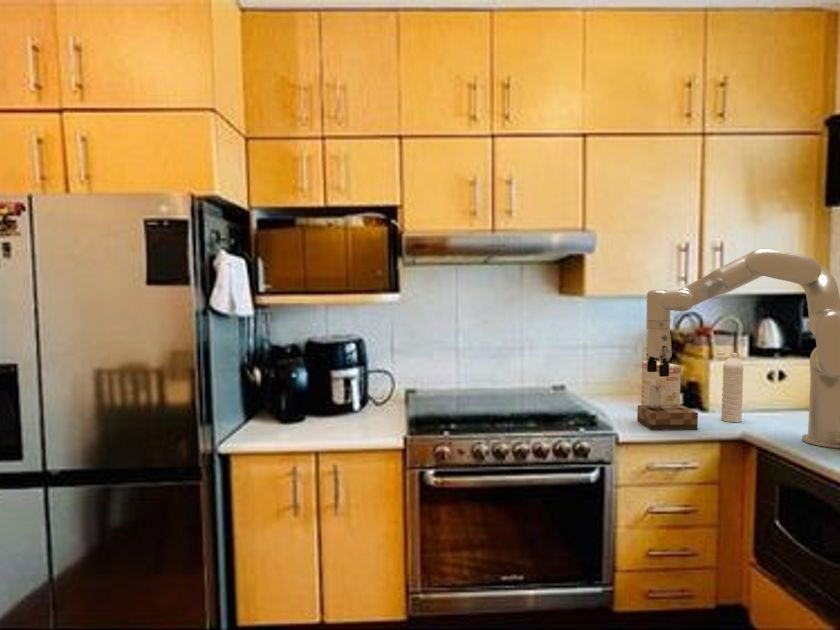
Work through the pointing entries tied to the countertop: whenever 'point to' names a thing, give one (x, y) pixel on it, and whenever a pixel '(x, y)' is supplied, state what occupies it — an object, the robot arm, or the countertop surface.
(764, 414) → the countertop surface
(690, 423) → the walnut block
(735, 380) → the water bottle
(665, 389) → the coffeecake box
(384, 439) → the countertop surface
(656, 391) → the steel pin
